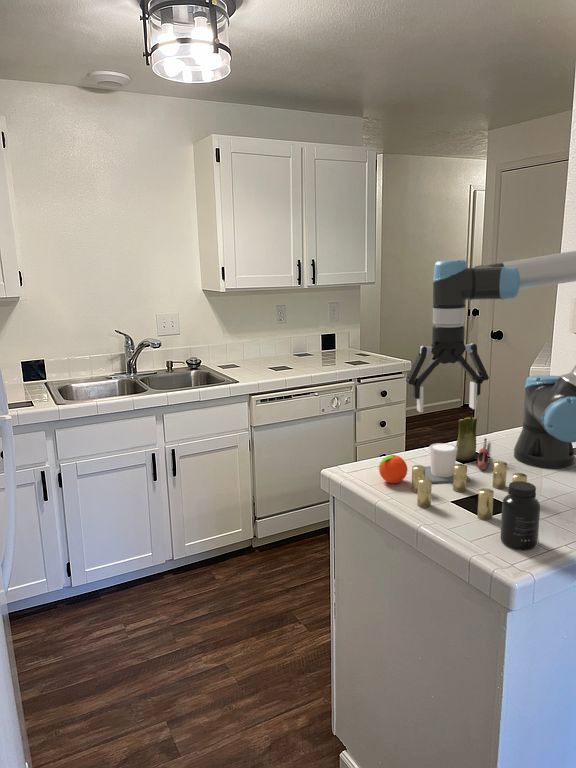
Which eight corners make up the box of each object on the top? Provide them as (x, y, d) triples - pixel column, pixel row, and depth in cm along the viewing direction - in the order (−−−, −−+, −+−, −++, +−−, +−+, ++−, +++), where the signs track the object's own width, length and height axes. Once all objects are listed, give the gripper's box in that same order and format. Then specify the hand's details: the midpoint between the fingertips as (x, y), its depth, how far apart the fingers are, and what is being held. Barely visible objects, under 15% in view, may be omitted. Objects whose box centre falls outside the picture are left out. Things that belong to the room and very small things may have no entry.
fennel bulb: (474, 456, 160) (476, 415, 158) (478, 463, 156) (480, 420, 153) (453, 456, 161) (454, 415, 158) (456, 463, 156) (458, 420, 154)
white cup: (457, 478, 144) (458, 452, 142) (429, 477, 145) (430, 450, 144) (455, 468, 150) (456, 443, 149) (428, 467, 152) (428, 442, 150)
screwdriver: (480, 442, 173) (480, 433, 172) (490, 443, 172) (491, 434, 171) (475, 471, 150) (476, 461, 150) (487, 473, 149) (488, 462, 148)
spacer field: (506, 483, 142) (507, 460, 140) (544, 517, 124) (546, 490, 122) (406, 489, 140) (406, 465, 139) (430, 523, 122) (430, 497, 121)
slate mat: (456, 467, 153) (456, 464, 153) (470, 481, 143) (470, 479, 143) (415, 469, 152) (415, 467, 152) (427, 483, 143) (427, 481, 143)
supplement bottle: (495, 534, 117) (498, 478, 114) (529, 534, 116) (533, 478, 114) (506, 551, 110) (510, 492, 107) (543, 551, 110) (547, 492, 107)
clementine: (386, 490, 139) (387, 462, 138) (369, 481, 145) (370, 454, 144) (412, 484, 143) (413, 456, 141) (395, 475, 149) (395, 448, 147)
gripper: (491, 321, 145) (488, 402, 149) (393, 325, 143) (393, 408, 147) (505, 324, 137) (501, 410, 142) (402, 329, 136) (401, 416, 140)
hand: (446, 409), depth 145 cm, fingers open, 13 cm apart
